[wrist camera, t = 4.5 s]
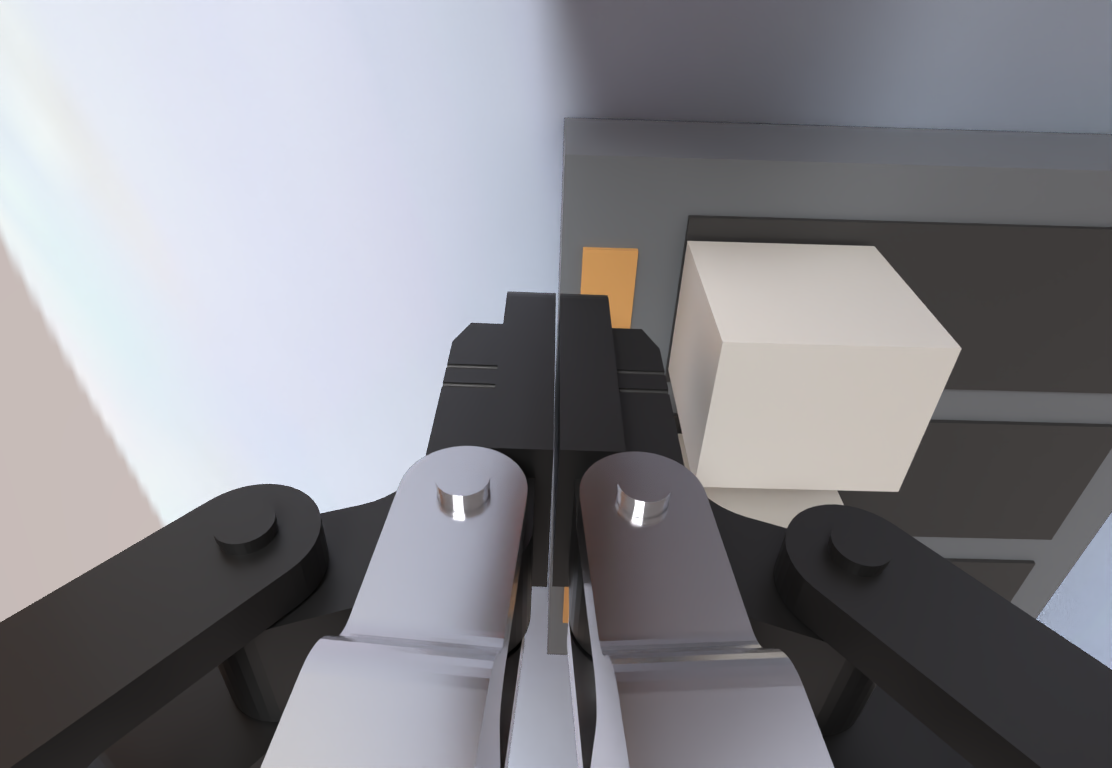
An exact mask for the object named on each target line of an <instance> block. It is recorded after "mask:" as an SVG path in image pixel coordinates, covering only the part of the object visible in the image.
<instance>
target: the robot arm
mask: <svg viewBox="0 0 1112 768" xmlns="http://www.w3.org/2000/svg"><path fill="white" fill-rule="evenodd" d="M555 307H556V293H533V292H508V293H507V299H506V307H505V315H504V322H503V324H487V323H471V324H470V325H469V326H468V327H467V328H466V329H465V330H464V331H463V332H462V333H461V334H460V335H459V336H458V337H457V338H456V339H455V340H454V341H453V342H452V346H451V350H450V355H449V359H448V363H447V368H446V372H445V376H444V380H443V387H442V389H441V393H440V397H439V401H438V406H437V410H436V414H435V418H434V423H433V427H432V431H431V435H430V440H429V444H428V448H427V452H426V456H425V457H423V458H421V459H420V460H418V461H417V462H416V463H414V464H413V465H412V466H411V467H410V468H409V469H408V470H407V472H406V473H405V474H404V476H403V478H402V480H401V482H400V484H399V487H398V489H397V491H396V492H394V493H392V494H390V495H388V496H386V497H384V498H381V499H379V500H376V501H374V502H370V503H366V504H363V505H358V506H354V507H349V508H344V509H340V510H335V511H330V512H326V513H321V514H320V512H319V509H318V507H317V505H316V504H315V502H314V501H313V500H312V499H311V498H310V497H309V496H308V495H307V494H305V493H303V492H302V491H300V490H298V489H295V488H292V487H289V486H284V485H277V484H259V485H252V486H246V487H242V488H238V489H235V490H232V491H229V492H226V493H224V494H221V495H219V496H217V497H215V498H214V499H212V500H210V501H208V502H206V503H205V504H203V505H201V506H199V507H198V508H196V509H194V510H192V511H191V512H189V513H187V514H186V515H184V516H182V517H180V518H179V519H177V520H175V521H174V522H172V523H170V524H168V525H167V526H165V527H163V528H162V529H160V530H158V531H156V532H155V533H153V534H151V535H150V536H148V537H146V538H145V539H143V540H141V541H139V542H138V543H136V544H134V545H132V546H131V547H129V548H127V549H126V550H124V551H122V552H120V553H119V554H117V555H115V556H114V557H112V558H110V559H108V560H107V561H105V562H103V563H101V564H100V565H98V566H97V567H95V568H93V569H91V570H89V571H88V572H86V573H84V574H83V575H81V576H79V577H78V578H76V579H74V580H72V581H71V582H69V583H67V584H66V585H64V586H62V587H60V588H59V589H57V590H55V591H54V592H52V593H50V594H48V595H47V596H45V597H43V598H42V599H40V600H38V601H36V602H35V603H33V604H31V605H29V606H28V607H26V608H24V609H23V610H21V611H19V612H17V613H16V614H14V615H12V616H11V617H9V618H7V619H5V620H4V621H2V622H0V768H508V763H509V755H510V748H511V740H512V733H513V725H514V718H515V710H516V703H517V695H518V688H519V680H520V673H521V665H522V658H523V650H524V635H525V633H526V632H527V629H528V626H529V622H530V614H531V591H532V586H541V587H547V573H548V553H549V532H550V512H551V492H552V472H553V451H554V475H553V552H552V587H569V622H568V634H567V652H568V663H569V673H570V684H571V695H572V706H573V717H574V728H575V739H576V750H577V761H578V768H1112V670H1111V669H1110V668H1108V667H1107V666H1105V665H1104V664H1102V663H1101V662H1099V661H1098V660H1096V659H1095V658H1093V657H1092V656H1090V655H1089V654H1087V653H1086V652H1084V651H1083V650H1081V649H1080V648H1078V647H1077V646H1075V645H1074V644H1072V643H1071V642H1069V641H1068V640H1066V639H1065V638H1063V637H1062V636H1060V635H1059V634H1057V633H1056V632H1054V631H1053V630H1051V629H1050V628H1048V627H1047V626H1045V625H1044V624H1042V623H1041V622H1039V621H1038V620H1036V619H1035V618H1033V617H1032V616H1030V615H1029V614H1027V613H1026V612H1024V611H1023V610H1021V609H1020V608H1018V607H1017V606H1015V605H1014V604H1012V603H1011V602H1009V601H1008V600H1006V599H1005V598H1003V597H1002V596H1000V595H999V594H997V593H996V592H994V591H993V590H991V589H990V588H988V587H987V586H985V585H984V584H982V583H981V582H979V581H978V580H976V579H975V578H973V577H972V576H970V575H969V574H967V573H966V572H964V571H963V570H961V569H960V568H958V567H957V566H955V565H954V564H952V563H951V562H949V561H948V560H947V559H945V558H944V557H942V556H941V555H939V554H938V553H936V552H935V551H933V550H932V549H930V548H929V547H927V546H926V545H924V544H923V543H921V542H920V541H918V540H917V539H915V538H914V537H912V536H911V535H909V534H908V533H906V532H905V531H903V530H902V529H900V528H899V527H897V526H896V525H894V524H892V523H891V522H889V521H887V520H886V519H884V518H882V517H880V516H878V515H876V514H874V513H871V512H868V511H866V510H863V509H860V508H856V507H851V506H846V505H837V504H825V505H819V506H814V507H811V508H808V509H805V510H804V511H802V512H800V513H798V514H797V515H796V516H795V517H794V518H793V519H792V521H791V522H790V524H789V525H788V528H784V527H780V526H777V525H773V524H770V523H766V522H763V521H759V520H756V519H752V518H748V517H745V516H742V515H739V514H736V513H734V512H732V511H729V510H727V509H725V508H723V507H721V506H720V505H718V504H716V503H714V502H713V501H712V500H710V499H709V498H708V497H707V494H706V492H705V490H704V488H703V485H702V484H701V482H700V481H699V480H698V478H697V477H696V476H695V475H694V474H693V473H692V472H691V471H690V470H688V469H687V468H686V467H685V466H684V462H683V457H682V452H681V447H680V443H679V438H678V433H677V428H676V423H675V419H674V414H673V409H672V404H671V400H670V395H669V394H668V385H667V381H666V376H665V375H664V366H663V362H662V357H661V352H660V348H659V347H658V346H657V345H656V344H655V343H654V342H653V341H652V340H651V339H650V337H649V336H648V335H647V334H646V333H645V332H644V331H643V330H642V329H627V328H612V325H611V316H610V307H609V298H608V295H590V294H564V293H560V298H559V316H558V337H557V358H556V379H555ZM554 381H555V407H554Z"/></svg>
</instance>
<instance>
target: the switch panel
mask: <svg viewBox="0 0 1112 768" xmlns="http://www.w3.org/2000/svg"><path fill="white" fill-rule="evenodd" d="M687 241H711V242H746V243H781V244H817V245H852V246H875V247H876V249H877V250H878V251H879V252H880V253H881V255H882V256H883V257H884V258H885V259H886V260H887V262H888V263H889V264H890V265H891V266H892V267H893V269H894V270H895V271H896V272H897V273H898V274H899V276H900V277H901V278H902V279H903V280H904V281H905V283H906V284H907V285H908V286H909V287H910V288H911V290H912V291H913V292H914V293H915V294H916V296H917V297H918V298H919V299H920V300H921V301H922V303H923V304H924V305H925V306H926V307H927V308H928V310H929V311H930V312H931V313H932V314H933V315H934V317H935V318H936V319H937V320H938V321H939V322H940V324H941V325H942V326H943V327H944V328H945V329H946V331H947V332H948V333H949V334H950V335H951V336H952V338H953V339H954V340H955V341H956V342H957V344H958V345H959V346H960V347H961V348H962V349H961V351H960V353H959V356H958V358H957V360H956V363H955V365H954V367H953V369H952V372H951V374H950V376H949V378H948V381H947V383H946V385H945V387H944V390H943V392H942V394H941V397H940V399H939V401H938V403H937V406H936V408H935V410H934V412H933V415H932V417H931V419H930V421H929V424H928V426H927V428H926V430H925V433H924V435H923V437H922V440H921V442H920V444H919V446H918V449H917V451H916V453H915V455H914V458H913V460H912V462H911V464H910V467H909V469H908V471H907V473H906V476H905V478H904V480H903V483H902V485H901V487H900V489H899V492H885V491H844V490H837V491H838V493H839V495H840V498H841V500H842V502H843V504H844V505H846V506H851V507H856V508H860V509H863V510H866V511H868V512H871V513H874V514H876V515H878V516H880V517H882V518H884V519H886V520H887V521H889V522H891V523H892V524H894V525H896V526H897V527H899V528H900V529H902V530H903V531H905V532H906V533H908V534H909V535H911V536H912V537H914V538H915V539H917V540H918V541H920V542H921V543H923V544H924V545H926V546H927V547H929V548H930V549H932V550H933V551H935V552H936V553H938V554H939V555H941V556H942V557H944V558H945V559H947V560H948V561H949V562H951V563H952V564H954V565H955V566H957V567H958V568H960V569H961V570H963V571H964V572H966V573H967V574H969V575H970V576H972V577H973V578H975V579H976V580H978V581H979V582H981V583H982V584H984V585H985V586H987V587H988V588H990V589H991V590H993V591H994V592H996V593H997V594H999V595H1000V596H1002V597H1003V598H1005V599H1006V600H1008V601H1009V602H1011V603H1012V604H1014V605H1015V606H1017V607H1018V608H1020V609H1021V610H1023V611H1024V612H1026V613H1027V614H1029V615H1030V616H1032V617H1033V618H1035V619H1036V618H1037V617H1038V615H1039V614H1040V612H1041V611H1042V610H1043V608H1044V607H1045V605H1046V604H1047V602H1048V601H1049V600H1050V598H1051V597H1052V595H1053V594H1054V593H1055V591H1056V590H1057V588H1058V587H1059V586H1060V584H1061V583H1062V581H1063V580H1064V579H1065V577H1066V576H1067V574H1068V573H1069V571H1070V570H1071V569H1072V567H1073V566H1074V564H1075V563H1076V562H1077V560H1078V559H1079V557H1080V556H1081V555H1082V553H1083V552H1084V550H1085V549H1086V548H1087V546H1088V545H1089V543H1090V542H1091V540H1092V539H1093V538H1094V536H1095V535H1096V533H1097V532H1098V531H1099V529H1100V528H1101V526H1102V525H1103V524H1104V522H1105V521H1106V519H1107V518H1108V517H1109V515H1110V514H1111V512H1112V134H1081V133H1048V132H1015V131H982V130H949V129H916V128H883V127H850V126H818V125H785V124H752V123H719V122H686V121H653V120H620V119H587V118H564V144H563V174H562V204H561V234H560V263H559V293H558V316H559V298H560V293H564V294H590V295H608V298H609V307H610V316H611V325H612V328H627V329H642V330H643V331H644V332H645V333H646V334H647V335H648V336H649V337H650V339H651V340H652V341H653V342H654V343H655V344H656V345H657V346H658V347H659V348H660V352H661V357H662V362H663V366H664V375H665V376H666V381H667V385H668V394H669V395H670V400H671V404H672V409H673V414H674V419H675V423H676V428H677V433H678V434H682V430H681V426H680V421H679V417H678V412H677V407H676V403H675V398H674V394H673V389H672V384H671V380H670V375H669V371H668V368H669V361H670V354H671V348H672V341H673V334H674V327H675V321H676V314H677V307H678V301H679V294H680V287H681V280H682V274H683V267H684V260H685V254H686V247H687ZM557 337H558V323H557ZM556 358H557V352H556ZM553 475H554V451H553V472H552V501H551V531H550V561H549V590H548V646H547V654H560V655H568V652H567V634H568V622H569V587H552V552H553Z"/></svg>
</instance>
